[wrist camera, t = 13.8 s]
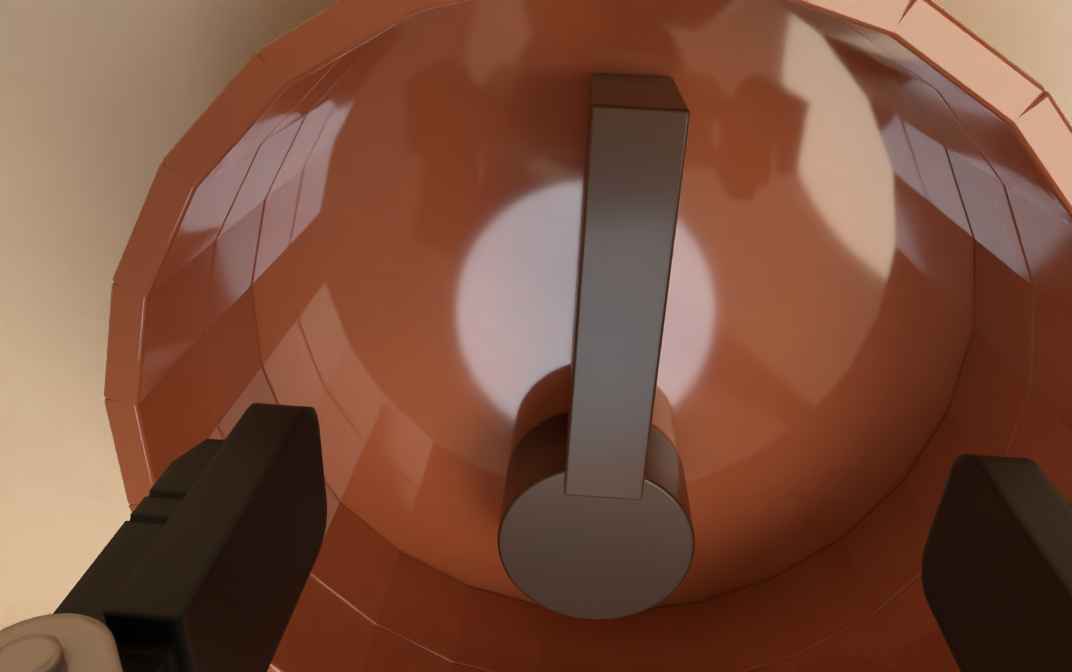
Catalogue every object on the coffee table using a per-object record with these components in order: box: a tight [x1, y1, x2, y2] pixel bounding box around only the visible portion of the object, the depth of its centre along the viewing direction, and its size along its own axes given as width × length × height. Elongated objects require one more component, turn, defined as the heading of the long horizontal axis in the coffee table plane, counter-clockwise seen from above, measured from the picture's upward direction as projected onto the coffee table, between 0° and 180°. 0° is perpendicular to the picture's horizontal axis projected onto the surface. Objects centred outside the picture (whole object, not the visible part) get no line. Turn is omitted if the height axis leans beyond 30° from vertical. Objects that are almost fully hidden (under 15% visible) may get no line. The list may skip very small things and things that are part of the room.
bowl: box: [104, 0, 1072, 672], centre depth 17 cm, size 17×17×6 cm
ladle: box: [497, 73, 695, 620], centre depth 17 cm, size 12×4×3 cm, turn 178°
